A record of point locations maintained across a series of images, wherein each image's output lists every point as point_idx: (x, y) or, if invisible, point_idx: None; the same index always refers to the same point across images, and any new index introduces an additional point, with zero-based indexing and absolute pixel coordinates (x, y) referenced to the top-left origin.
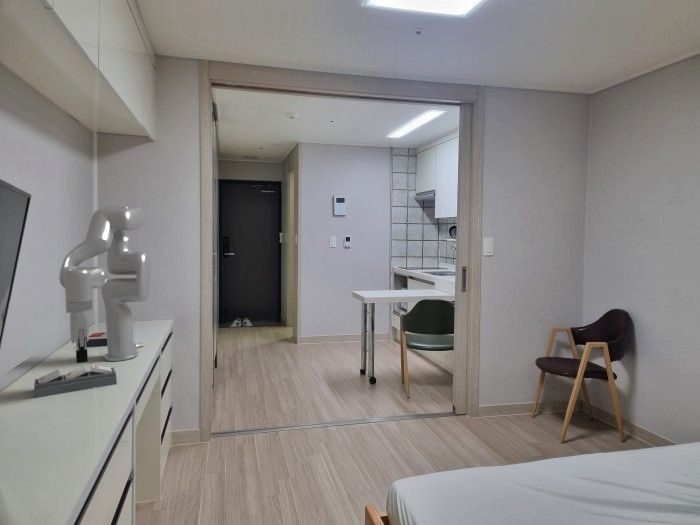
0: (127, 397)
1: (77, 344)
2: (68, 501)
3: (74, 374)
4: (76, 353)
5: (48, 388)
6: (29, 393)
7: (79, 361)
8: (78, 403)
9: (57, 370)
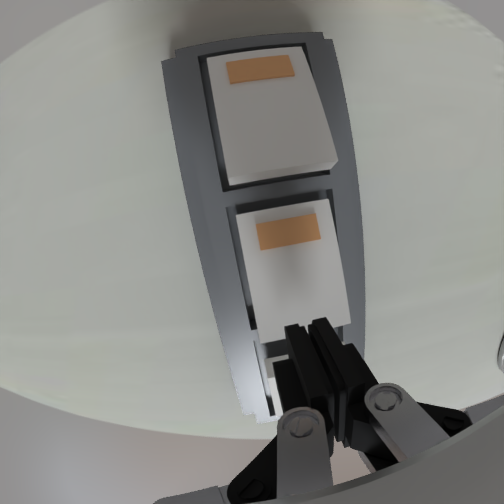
0: (83, 412)
1: (278, 490)
2: None
3: (247, 272)
4: (303, 381)
5: (172, 126)
6: (261, 34)
7: (289, 345)
8: (41, 285)
9: (315, 158)
